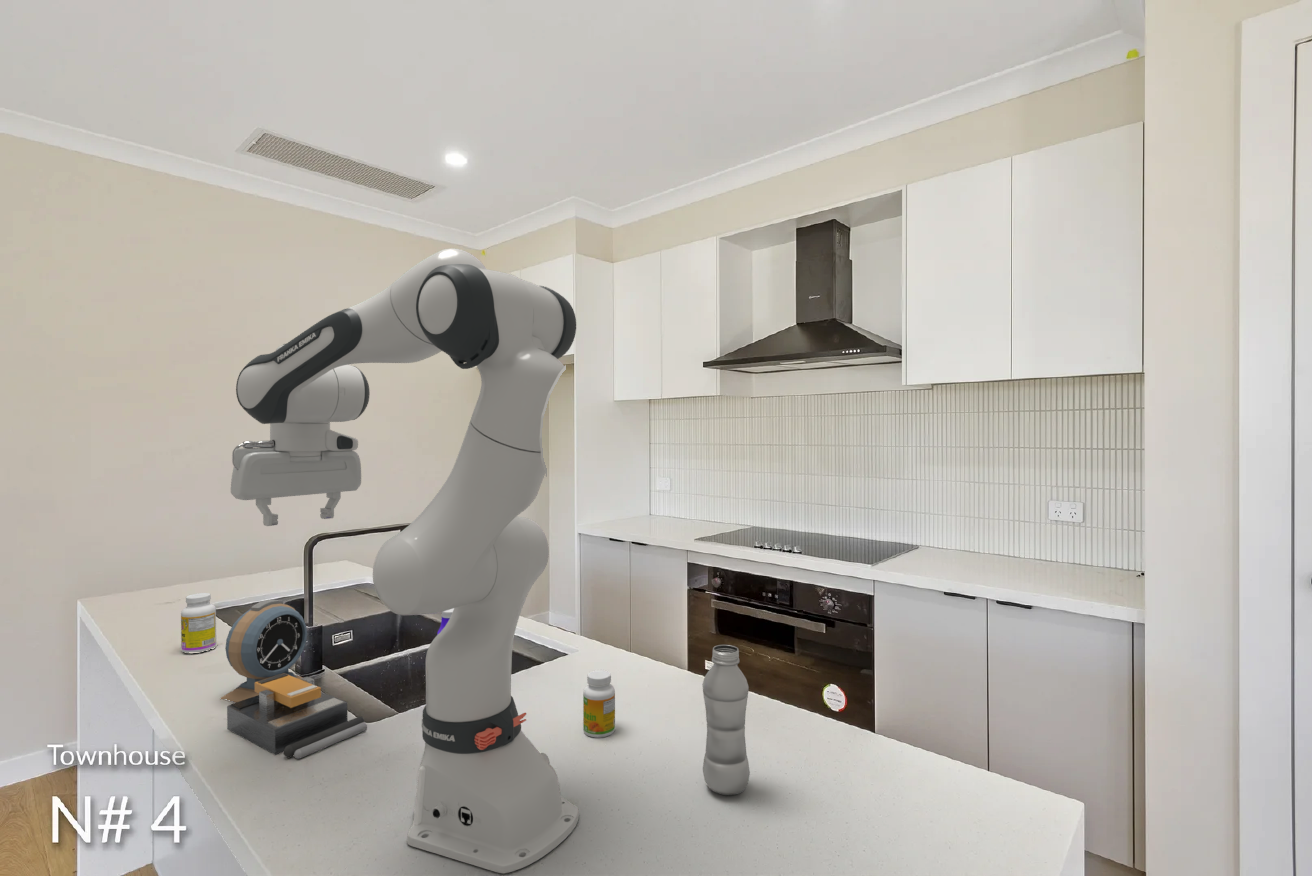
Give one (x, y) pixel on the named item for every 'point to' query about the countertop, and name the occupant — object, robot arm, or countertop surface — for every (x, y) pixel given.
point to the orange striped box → (289, 689)
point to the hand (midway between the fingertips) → (299, 521)
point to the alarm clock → (264, 645)
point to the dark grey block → (283, 719)
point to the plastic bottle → (725, 723)
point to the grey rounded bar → (325, 738)
